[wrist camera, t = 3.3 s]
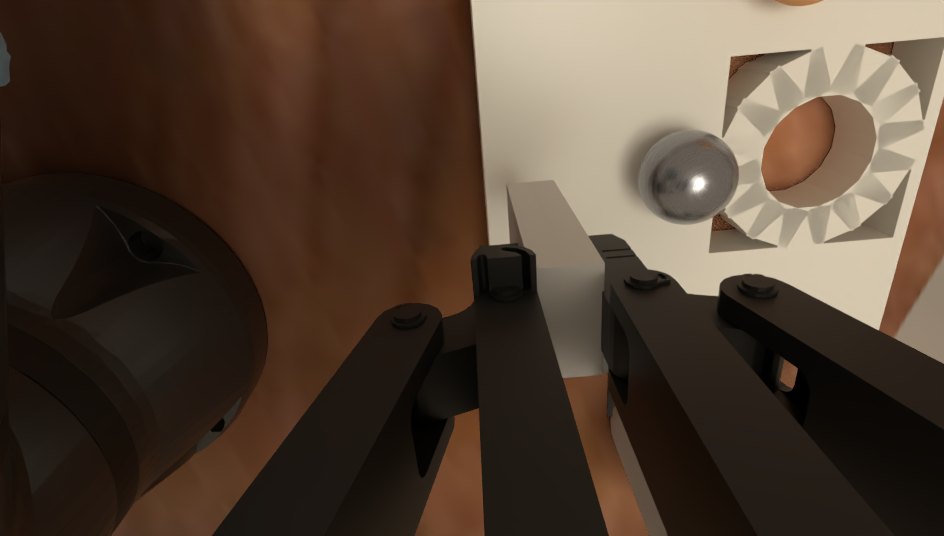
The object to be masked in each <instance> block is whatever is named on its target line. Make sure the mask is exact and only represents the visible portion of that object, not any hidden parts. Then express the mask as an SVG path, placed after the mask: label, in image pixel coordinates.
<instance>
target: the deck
mask: <svg viewBox="0 0 944 536" xmlns="http://www.w3.org/2000/svg"><path fill="white" fill-rule="evenodd" d="M470 12H471V25H472V38H473V51H474V64H475V77H476V90H477V103H478V116H479V129H480V142H481V155H482V168H483V182H484V195H485V208H486V221H487V234H488V246H489V245H501V244H510V239H509V222H508V205H507V188H506V184H511V183H523V182H534V181H546V180H554V181H555V183H556V185H557V186H558V188H559V190H560V191H561V193H562V194H563V196H564V198H565V199H566V201H567V202H568V204H569V206H570V207H571V209H572V211H573V212H574V214H575V215H576V217H577V219H578V220H579V222H580V224H581V225H582V227H583V228H584V230H585V232H586V233H587V235H588V236H591V235H603V234H613V235H615V236H617V237H619V238H621V239H623V240H625V241H626V242H627V244H628V245H629V246H630V247H631V250H633V251H634V253H635V254H636V256H638V258H639V259H640V260H641V261H642V263H643V264H644V265H645V267H646V268H647V269H650V270H656V271H660V272H664V273H666V274H668V275H670V276H671V277H673V278H674V279H675V280H676V281H677V282H678V283H679V284H680V286H681V287H682V288H683V289H684V290H685V291H686V293H688V294H696V295H709V296H718V294H719V286H720V283H721V282H722V281H723V280H724V279H725V278H728V277H731V276H735V275H743V274H753V275H754V274H761V275H764V276H766V277H771V278H775V279H777V280H780V281H783V282H785V283H787V284H789V285H791V286H793V287H795V288H797V289H799V290H801V291H803V292H805V293H807V294H809V295H811V296H813V297H815V298H816V299H818V300H820V301H822V302H824V303H826V304H828V305H830V306H832V307H834V308H836V309H838V310H840V311H842V312H844V313H846V314H848V315H850V316H852V317H853V318H855V319H857V320H859V321H861V322H863V323H865V324H867V325H869V326H871V327H873V328H875V329H877V330H879V327H880V323H881V320H882V316H883V313H884V309H885V306H886V302H887V298H888V295H889V291H890V288H891V284H892V280H893V277H894V273H895V270H896V266H897V262H898V259H899V255H900V252H901V248H902V244H903V241H904V237H905V234H906V230H907V226H908V223H909V219H910V216H911V212H912V208H913V205H914V201H915V198H916V194H917V191H918V187H919V183H920V180H921V176H922V173H923V169H924V165H925V162H926V158H927V155H928V151H929V147H930V144H931V140H932V137H933V133H934V129H935V126H936V122H937V119H938V115H939V111H940V108H941V104H942V101H943V97H944V0H823V1H821V2H818V3H815V4H812V5H806V6H789V5H785V4H782V3H779V2H777V1H775V0H470ZM885 42H894V45H893V49H892V54H891V55H885V54H883V53H880V52H877V51H875V50H872V49H870V48H867V47H865V45H866V44H874V43H885ZM764 53H766V54H765V55H763V56H761V57H759V58H757V59H755V60H753V61H751V62H745V63H744V64H743V65H742V66H741V67H739V68H737V69H738V70H737V72H736V73H735V74H734V75H733V76H732V77H731V78H730V79H729V80H728V77H729V68H730V59H731V56H742V55H753V54H764ZM816 97H822V98H823V99H824V100H825V102H826V103H827V104H828V105H829V106H830V108H831V109H832V113H833V118H834V122H835V127H836V128H835V133H834V138H833V143H832V148H831V149H830V151H829V153H828V154H827V156H826V158H825V159H824V161H823V163H822V164H821V166H820V167H819V168H818V169H817V170H816V171H815V172H814V173H812V174H811V175H810V176H809V177H808V178H807V179H806V180H805V181H803V182H801V183H799V184H797V185H794V186H792V187H790V188H788V189H786V190H778V191H768V190H767V189H766V187H765V183H764V180H763V176H762V173H761V164H762V157H763V150H764V147H765V145H766V143H767V141H768V139H769V137H770V135H771V134H772V132H773V130H774V128H775V126H776V125H777V124H778V123H779V122H780V121H781V120H782V119H783V118H784V117H786V116H787V115H788V114H789V113H790V112H791V111H792V110H793V109H794V108H795V107H797V106H800V105H802V104H804V103H806V102H808V101H810V100H812V99H814V98H816ZM683 130H700V131H705V132H708V133H711V134H713V135H715V136H717V137H719V138H720V139H722V140H723V141H724V142H725V143H726V144H727V145H728V146H729V147H730V149H731V150H732V151H733V153H734V155H735V157H736V160H737V163H738V167H739V181H738V186H737V189H736V192H735V194H734V196H733V198H732V199H731V201H730V202H729V204H728V205H727V206H726V207H725V208H724V209H723V210H722V211H721V212H720V213H719V214H720V218H722V219H723V220H725V221H726V222H728V223H729V224H730V225H732V226H733V227H735V228H736V229H730V230H718V231H711V228H712V219H713V217H712V218H711V219H709V220H706V221H704V222H700V223H697V224H691V225H680V224H673V223H670V222H667V221H664V220H662V219H660V218H659V217H657V216H656V215H654V214H653V213H652V212H651V211H650V210H649V209H648V208H647V207H646V205H645V204H644V202H643V200H642V198H641V196H640V193H639V189H638V172H639V168H640V165H641V162H642V160H643V158H644V156H645V155H646V153H647V152H648V150H649V149H650V148H651V147H652V146H653V145H654V144H655V143H656V142H658V141H659V140H660V139H662V138H664V137H665V136H667V135H670V134H672V133H675V132H678V131H683Z"/></svg>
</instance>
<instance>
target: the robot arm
mask: <svg viewBox="0 0 944 536" xmlns="http://www.w3.org/2000/svg"><path fill="white" fill-rule="evenodd" d="M10 59H11V56H10V54H9V53H8V52H7V44H6V42H5V40H4V38H3V36H2V34H1V32H0V87H2V86H5V85H7V84H8V83H9V82H10V71H9V63H10ZM506 188H507V205H508V222H509V239H510V244H501V245H489V246H480V247H479V249H478V250H477V251H476V252H475V253H474V254H473V256H472V258H471V269H472V280H473V291H474V302H473V303H472V305H471V306H470V307H468V308H467V309H466V310H464V311H462V312H460V313H458V314H455V315H452V316H448V317H445V318H442V314H441V312H440V311H439V310H438V308H436V307H433V306H431V305H428V304H421V303H414V304H412V303H406V304H403V305H397V306H395V307H393V308H391V309H389V310H387V311H385V312H383V313H382V314H381V315H380V316H379V317H378V318H377V319H376V320H375V321H374V323H373V324H372V325H371V327H370V328H369V329H368V331H367V332H366V333H365V335H364V336H363V337H362V339H361V340H360V341H359V343H358V344H357V345H356V346H355V348H354V349H353V350H352V352H351V353H350V354H349V356H348V357H347V358H346V360H345V361H344V362H343V364H342V365H341V366H340V368H339V369H338V370H337V372H336V373H335V374H334V375H333V377H332V378H331V379H330V381H329V382H328V383H327V385H326V386H325V387H324V389H323V390H322V391H321V393H320V394H319V395H318V397H317V398H316V399H315V401H314V402H313V403H312V404H311V406H310V407H309V408H308V410H307V411H306V412H305V414H304V415H303V416H302V418H301V419H300V420H299V422H298V423H297V424H296V426H295V427H294V428H293V429H292V431H291V432H290V433H289V435H288V436H287V437H286V439H285V440H284V441H283V443H282V444H281V445H280V447H279V448H278V449H277V451H276V452H275V453H274V455H273V456H272V457H271V458H270V460H269V461H268V462H267V464H266V465H265V466H264V468H263V469H262V470H261V472H260V473H259V474H258V476H257V477H256V478H255V480H254V481H253V482H252V484H251V485H250V486H249V487H248V489H247V490H246V491H245V493H244V494H243V495H242V497H241V498H240V499H239V501H238V502H237V503H236V505H235V506H234V507H233V509H232V510H231V511H230V513H229V514H228V515H227V516H226V518H225V519H224V520H223V522H222V523H221V524H220V526H219V527H218V528H217V530H216V531H215V532H214V534H213V535H212V536H414V535H415V533H416V530H417V527H418V524H419V522H420V519H421V516H422V513H423V511H424V508H425V505H426V502H427V500H428V497H429V494H430V491H431V489H432V486H433V483H434V480H435V478H436V475H437V472H438V470H439V467H440V464H441V461H442V459H443V456H444V453H445V450H446V448H447V445H448V442H449V439H450V437H451V434H452V431H453V428H454V420H455V419H454V416H455V415H458V414H461V413H465V412H468V411H471V410H474V409H477V408H479V419H480V442H481V464H482V486H483V509H484V531H485V536H609V535H608V532H607V528H606V525H605V521H604V518H603V514H602V511H601V508H600V504H599V501H598V497H597V494H596V491H595V487H594V484H593V480H592V477H591V473H590V470H589V467H588V463H587V460H586V456H585V453H584V449H583V446H582V443H581V439H580V436H579V432H578V429H577V426H576V422H575V419H574V415H573V412H572V408H571V405H570V402H569V398H568V395H567V391H566V388H565V384H564V381H563V378H569V377H582V376H595V375H602V368H603V355H604V358H605V360H606V362H607V365H608V390H607V417H613V408H614V407H615V406H616V409H617V411H618V414H619V416H620V419H621V421H622V424H623V426H624V428H625V431H626V433H627V436H628V438H629V441H630V443H631V446H632V448H633V451H634V453H635V456H636V458H637V461H638V463H639V466H640V468H641V471H642V473H643V476H644V478H645V481H646V483H647V485H648V488H649V490H650V493H651V495H652V498H653V500H654V503H655V505H656V508H657V510H658V513H659V515H660V518H661V520H662V523H663V525H664V528H665V530H666V533H667V535H668V536H944V364H943V363H941V362H939V361H937V360H935V359H933V358H931V357H929V356H927V355H925V354H923V353H921V352H920V351H918V350H916V349H914V348H912V347H910V346H908V345H906V344H904V343H902V342H900V341H898V340H896V339H894V338H892V337H890V336H888V335H887V334H885V333H883V332H881V331H879V330H877V329H875V328H873V327H871V326H869V325H867V324H865V323H863V322H861V321H859V320H857V319H855V318H853V317H852V316H850V315H848V314H846V313H844V312H842V311H840V310H838V309H836V308H834V307H832V306H830V305H828V304H826V303H824V302H822V301H820V300H818V299H816V298H815V297H813V296H811V295H809V294H807V293H805V292H803V291H801V290H799V289H797V288H795V287H793V286H791V285H789V284H787V283H785V282H783V281H780V280H777V279H775V278H771V277H766V276H764V275H761V274H754V275H753V274H743V275H735V276H731V277H728V278H725V279H724V280H723V281H722V282H721V283H720V286H719V294H718V296H709V295H696V294H688V293H686V291H685V290H684V289H683V288H682V287H681V286H680V284H679V283H678V282H677V281H676V280H675V279H674V278H673V277H671V276H670V275H668V274H666V273H664V272H660V271H656V270H650V269H647V268H646V267H645V265H644V264H643V263H642V261H641V260H640V259H639V258H638V256H636V254H635V253H634V251H633V250H631V247H630V246H629V245H628V244H627V242H626V241H625V240H623V239H621V238H619V237H617V236H615V235H613V234H603V235H591V236H588V235H587V233H586V232H585V230H584V228H583V227H582V225H581V224H580V222H579V220H578V219H577V217H576V215H575V214H574V212H573V211H572V209H571V207H570V206H569V204H568V202H567V201H566V199H565V198H564V196H563V194H562V193H561V191H560V190H559V188H558V186H557V185H556V183H555V181H554V180H546V181H534V182H523V183H511V184H506ZM266 353H267V327H266V320H265V316H264V311H263V308H262V305H261V302H260V299H259V296H258V294H257V291H256V289H255V287H254V285H253V283H252V281H251V279H250V277H249V276H248V274H247V272H246V271H245V269H244V268H243V266H242V265H241V263H240V262H239V260H238V259H237V258H236V256H235V255H234V254H233V253H232V251H231V250H230V249H229V248H228V247H227V246H226V245H225V244H224V242H223V241H222V240H221V239H220V238H219V237H218V236H217V235H216V234H215V233H213V232H212V231H211V230H210V229H209V228H208V227H207V226H205V225H204V224H203V223H202V222H201V221H199V220H198V219H197V218H195V217H194V216H193V215H191V214H190V213H188V212H187V211H185V210H184V209H182V208H181V207H179V206H178V205H176V204H174V203H172V202H171V201H169V200H167V199H165V198H163V197H161V196H159V195H157V194H155V193H153V192H151V191H148V190H146V189H144V188H141V187H138V186H136V185H133V184H130V183H127V182H124V181H120V180H117V179H113V178H108V177H104V176H98V175H92V174H82V173H49V174H41V175H35V176H30V177H26V178H22V179H19V180H16V181H13V182H10V183H7V184H4V185H3V183H2V154H1V125H0V536H111V535H112V534H113V532H114V531H115V530H116V528H117V527H118V525H119V524H120V522H121V521H122V520H123V518H124V517H125V515H126V514H127V512H128V511H129V509H130V508H131V507H132V505H133V504H134V503H135V502H136V501H137V500H138V499H140V498H141V497H142V496H144V495H145V494H146V493H147V492H149V491H150V490H151V489H153V488H154V487H155V486H156V485H158V484H159V483H160V482H162V481H163V480H164V479H165V478H167V477H168V476H169V475H171V474H172V473H173V472H174V471H176V470H177V469H178V468H179V467H181V466H182V465H183V464H184V463H186V462H187V461H188V460H189V459H190V458H191V457H192V456H193V455H194V454H195V453H197V452H199V451H201V450H202V449H204V448H205V447H206V446H208V445H209V444H210V443H212V442H213V441H214V440H215V439H217V438H218V437H219V436H220V435H221V434H222V433H223V432H224V431H225V430H226V429H227V428H228V427H229V426H230V425H231V424H232V422H233V421H234V420H235V419H236V418H237V416H238V415H239V413H240V412H241V410H242V409H243V407H244V405H245V403H246V402H247V400H248V398H249V396H250V395H251V393H252V391H253V390H254V388H255V386H256V384H257V382H258V380H259V378H260V376H261V373H262V370H263V367H264V364H265V359H266ZM784 359H785V360H787V361H788V362H790V363H791V364H793V365H794V366H796V367H797V368H798V371H797V376H796V381H795V385H794V387H793V389H792V388H790V387H788V386H786V385H785V384H783V383H782V382H781V381H780V378H781V373H782V368H783V363H784Z"/></svg>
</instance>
